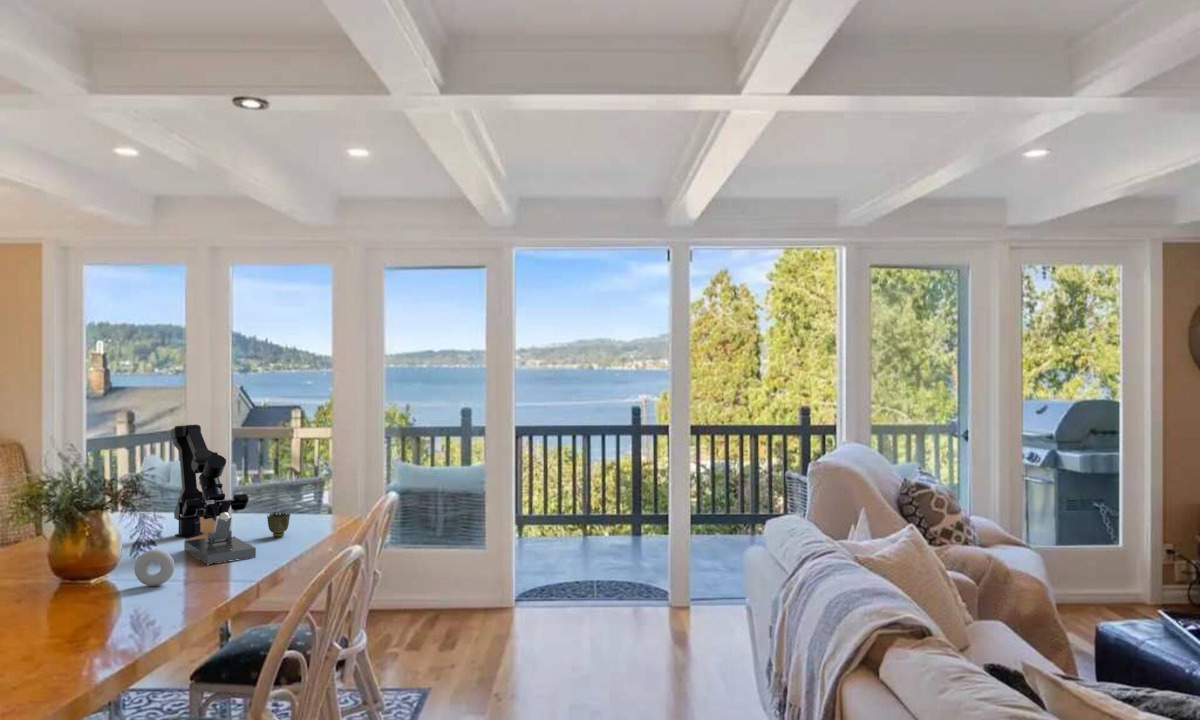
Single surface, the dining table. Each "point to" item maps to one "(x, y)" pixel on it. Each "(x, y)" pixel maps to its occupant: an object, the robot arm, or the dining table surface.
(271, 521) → the cup
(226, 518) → the lever
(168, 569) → the donut
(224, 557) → the lever base
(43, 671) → the dining table surface
